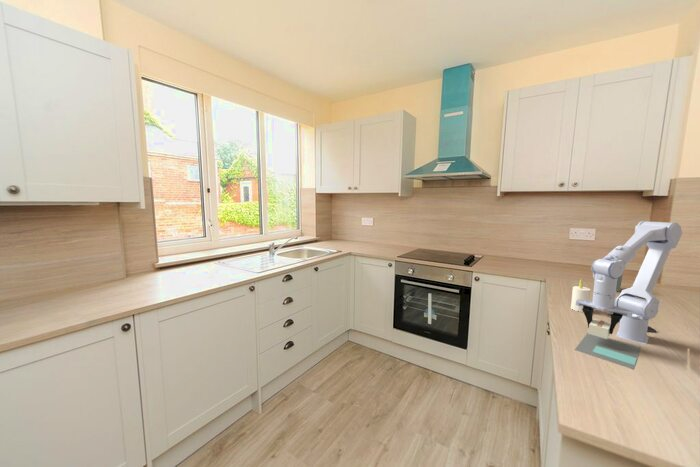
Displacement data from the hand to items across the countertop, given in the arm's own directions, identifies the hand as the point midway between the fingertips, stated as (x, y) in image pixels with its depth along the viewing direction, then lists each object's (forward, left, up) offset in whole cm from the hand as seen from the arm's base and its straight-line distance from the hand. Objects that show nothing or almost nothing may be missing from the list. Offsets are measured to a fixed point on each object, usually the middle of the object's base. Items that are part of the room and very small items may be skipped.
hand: (600, 330), depth 97 cm
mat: (+4, +3, -5) cm, 7 cm away
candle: (-34, -12, -5) cm, 36 cm away
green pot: (-87, -9, -5) cm, 88 cm away
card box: (0, 0, -1) cm, 1 cm away
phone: (-32, +5, -5) cm, 33 cm away
